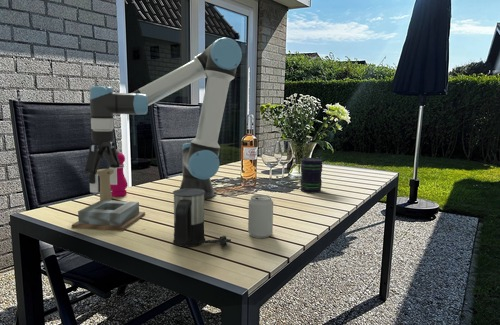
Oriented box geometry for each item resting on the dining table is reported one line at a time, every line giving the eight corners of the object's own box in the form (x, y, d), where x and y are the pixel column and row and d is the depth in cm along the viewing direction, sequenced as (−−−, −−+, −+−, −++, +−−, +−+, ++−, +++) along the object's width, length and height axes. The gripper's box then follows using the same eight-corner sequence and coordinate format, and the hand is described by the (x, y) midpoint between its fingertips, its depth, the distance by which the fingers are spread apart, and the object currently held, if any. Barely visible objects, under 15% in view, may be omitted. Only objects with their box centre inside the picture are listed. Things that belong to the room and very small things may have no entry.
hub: (145, 214, 129) (144, 201, 128) (122, 230, 112) (122, 215, 111) (100, 212, 131) (99, 198, 130) (71, 227, 114) (70, 212, 113)
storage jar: (320, 188, 175) (321, 158, 173) (322, 193, 165) (323, 161, 163) (299, 188, 176) (300, 157, 174) (300, 192, 166) (301, 160, 164)
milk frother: (172, 236, 108) (172, 188, 106) (225, 233, 111) (225, 186, 109) (173, 256, 94) (172, 200, 92) (233, 251, 98) (233, 198, 95)
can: (247, 230, 114) (247, 193, 112) (270, 230, 115) (271, 193, 113) (249, 239, 107) (249, 199, 105) (274, 238, 107) (275, 199, 106)
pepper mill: (122, 197, 152) (120, 150, 149) (106, 196, 154) (104, 149, 151) (131, 193, 159) (129, 148, 156) (116, 192, 161) (114, 147, 158)
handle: (117, 209, 136) (116, 169, 133) (102, 212, 130) (100, 171, 128) (110, 206, 138) (108, 168, 136) (94, 210, 133) (92, 170, 131)
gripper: (110, 128, 142) (111, 181, 146) (71, 132, 118) (74, 195, 121) (128, 128, 142) (129, 182, 145) (93, 132, 117) (95, 196, 120)
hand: (104, 188), depth 133 cm, fingers open, 13 cm apart
